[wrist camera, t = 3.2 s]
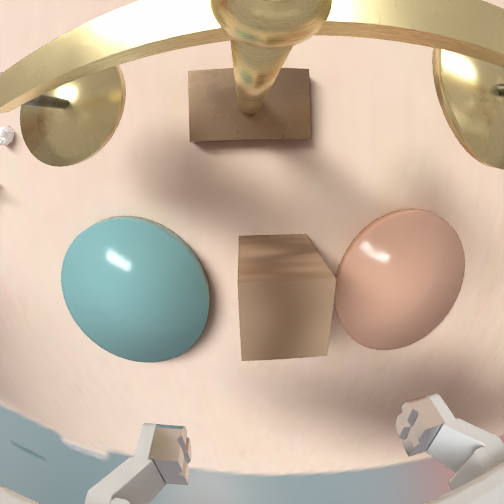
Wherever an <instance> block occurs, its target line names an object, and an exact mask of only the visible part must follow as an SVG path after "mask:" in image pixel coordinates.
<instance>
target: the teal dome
mask: <svg viewBox="0 0 504 504" xmlns="http://www.w3.org/2000/svg"><path fill="white" fill-rule="evenodd" d="M61 282H62V291H63V295H64V299H65V302H66V305H67V307H68V309H69V311H70V314H71V315H72V317H73V319H74V320H75V322H76V323H77V325H78V326H79V327H80V329H81V330H82V331H83V332H84V333H85V334H86V335H87V336H88V337H89V338H90V339H91V340H92V341H93V342H94V343H96V344H97V345H99V346H100V347H101V348H103V349H105V350H106V351H108V352H110V353H112V354H114V355H116V356H119V357H121V358H124V359H128V360H132V361H137V362H160V361H165V360H169V359H172V358H174V357H177V356H179V355H180V354H182V353H184V352H185V351H187V350H188V349H189V348H190V347H192V345H193V344H194V343H195V342H196V341H197V340H198V338H199V337H200V335H201V334H202V332H203V329H204V327H205V324H206V321H207V317H208V311H209V304H210V291H209V285H208V280H207V277H206V274H205V271H204V269H203V267H202V265H201V263H200V261H199V259H198V258H197V256H196V254H195V253H194V252H193V251H192V249H191V248H190V247H189V246H188V244H186V243H185V242H184V241H183V240H182V239H181V238H180V237H179V236H178V235H177V234H175V233H174V232H173V231H171V230H170V229H168V228H166V227H165V226H163V225H161V224H159V223H156V222H154V221H152V220H148V219H145V218H141V217H135V216H117V217H111V218H108V219H104V220H102V221H100V222H98V223H96V224H94V225H92V226H90V227H89V228H87V229H86V230H85V231H83V232H82V233H80V234H79V235H78V237H77V238H76V239H75V240H74V241H73V242H72V244H71V245H70V247H69V249H68V251H67V253H66V255H65V258H64V261H63V265H62V272H61Z"/></svg>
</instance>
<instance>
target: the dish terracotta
mask: <svg viewBox="0 0 504 504" xmlns="http://www.w3.org/2000/svg"><path fill="white" fill-rule="evenodd" d="M464 268H465V259H464V252H463V247H462V244H461V241H460V239H459V237H458V235H457V233H456V232H455V230H454V229H453V228H452V227H451V226H450V225H449V223H447V222H446V221H445V220H443V219H442V218H440V217H438V216H436V215H434V214H431V213H429V212H426V211H423V210H418V209H403V210H398V211H394V212H391V213H388V214H386V215H384V216H382V217H380V218H378V219H376V220H375V221H374V222H372V223H371V224H369V225H368V226H367V227H366V228H365V229H364V230H362V231H361V232H360V233H359V235H358V236H357V237H356V238H355V239H354V240H353V242H352V243H351V244H350V246H349V247H348V249H347V250H346V252H345V254H344V256H343V257H342V260H341V262H340V264H339V267H338V270H337V273H336V277H335V278H336V286H335V296H334V305H335V308H336V312H337V315H338V317H339V319H340V321H341V323H342V325H343V327H344V329H345V330H346V332H347V333H348V334H349V335H350V336H351V337H352V339H354V340H355V341H356V342H358V343H359V344H361V345H363V346H365V347H368V348H371V349H377V350H391V349H397V348H401V347H404V346H407V345H410V344H412V343H414V342H416V341H418V340H420V339H421V338H423V337H425V336H426V335H427V334H429V333H430V332H431V331H432V330H433V329H435V328H436V327H437V326H438V325H439V324H440V323H441V322H442V320H443V319H444V318H445V317H446V315H447V314H448V313H449V311H450V310H451V308H452V307H453V305H454V303H455V301H456V299H457V297H458V294H459V292H460V289H461V286H462V282H463V277H464Z"/></svg>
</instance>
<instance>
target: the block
mask: <svg viewBox="0 0 504 504" xmlns="http://www.w3.org/2000/svg"><path fill="white" fill-rule="evenodd" d="M335 286H336V278H335V276H334V275H333V273H332V272H331V270H330V269H329V267H328V266H327V264H326V263H325V261H324V260H323V258H322V257H321V255H320V254H319V252H318V251H317V249H316V248H315V246H314V245H313V243H312V242H311V240H310V239H309V238H308V236H307V235H306V234H289V235H255V236H239V253H238V300H239V320H240V338H241V356H242V361H251V360H273V359H289V358H303V357H315V356H325V355H327V352H328V345H329V338H330V330H331V322H332V314H333V305H334V296H335Z"/></svg>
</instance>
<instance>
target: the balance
mask: <svg viewBox="0 0 504 504" xmlns="http://www.w3.org/2000/svg"><path fill="white" fill-rule="evenodd" d="M313 35H329V36H351V37H364V38H375V39H384V40H392V41H399V42H405V43H411V44H417V45H423V46H428V47H433V48H434V49H433V60H432V63H433V76H434V83H435V87H436V92H437V96H438V99H439V102H440V105H441V108H442V110H443V113H444V116H445V118H446V120H447V122H448V124H449V126H450V128H451V130H452V131H453V133H454V135H455V137H456V138H457V139H458V141H459V142H460V144H461V145H462V146H463V147H464V149H465V150H466V151H467V152H468V153H469V154H470V155H471V156H472V157H473V158H475V159H476V160H478V161H479V162H481V163H483V164H485V165H487V166H490V167H494V168H499V169H504V9H502V8H500V7H497V6H495V5H493V4H490V3H487V2H485V1H482V0H141V1H138V2H135V3H133V4H130V5H127V6H125V7H122V8H119V9H117V10H114V11H112V12H110V13H107V14H105V15H102V16H100V17H98V18H96V19H94V20H91V21H89V22H87V23H85V24H83V25H81V26H79V27H77V28H75V29H73V30H71V31H69V32H67V33H65V34H63V35H61V36H60V37H58V38H56V39H54V40H52V41H51V42H49V43H47V44H46V45H44V46H42V47H41V48H39V49H37V50H36V51H34V52H32V53H31V54H29V55H28V56H26V57H25V58H23V59H22V60H20V61H19V62H17V63H16V64H14V65H13V66H12V67H10V68H9V69H7V70H6V71H5V72H3V73H2V74H0V113H3V112H9V111H11V110H13V109H15V108H16V107H18V106H20V105H21V111H20V125H21V131H22V135H23V139H24V141H25V143H26V145H27V147H28V149H29V150H30V152H31V153H32V154H33V155H34V156H35V157H36V158H37V159H38V160H40V161H41V162H43V163H45V164H48V165H52V166H60V167H61V166H69V165H74V164H78V163H81V162H83V161H85V160H87V159H89V158H91V157H92V156H94V155H95V154H96V153H98V152H99V151H100V150H101V149H102V148H103V147H104V146H105V145H106V144H107V142H108V141H109V140H110V138H111V137H112V135H113V134H114V132H115V130H116V128H117V127H118V124H119V122H120V119H121V117H122V113H123V110H124V105H125V96H126V89H125V81H124V76H123V73H122V71H121V69H120V67H119V64H123V63H126V62H129V61H133V60H136V59H140V58H143V57H147V56H151V55H155V54H159V53H163V52H167V51H172V50H176V49H181V48H186V47H191V46H197V45H202V44H209V43H215V42H222V41H229V40H230V41H231V50H232V58H233V67H234V68H228V69H211V70H198V71H188V76H189V127H190V142H204V141H222V140H250V139H306V140H308V139H311V118H310V85H309V69H296V68H281V67H282V66H283V64H284V62H285V60H286V58H287V56H288V54H289V52H290V51H291V49H292V47H293V46H294V45H296V44H299V43H301V42H303V41H305V40H307V39H309V38H310V37H312V36H313Z"/></svg>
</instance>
